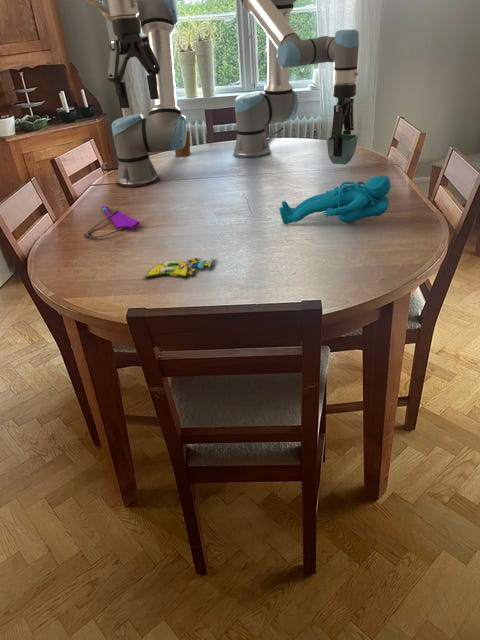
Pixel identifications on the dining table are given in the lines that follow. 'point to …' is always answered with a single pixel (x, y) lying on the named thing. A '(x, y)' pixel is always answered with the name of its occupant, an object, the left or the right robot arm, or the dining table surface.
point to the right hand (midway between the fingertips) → (341, 152)
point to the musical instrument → (117, 221)
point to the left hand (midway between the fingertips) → (140, 103)
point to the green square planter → (343, 148)
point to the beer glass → (186, 148)
